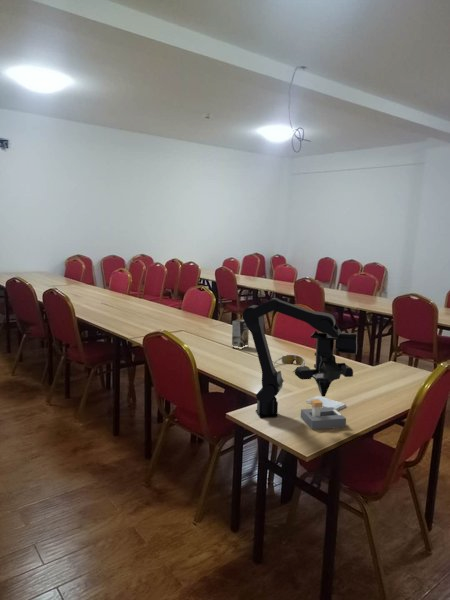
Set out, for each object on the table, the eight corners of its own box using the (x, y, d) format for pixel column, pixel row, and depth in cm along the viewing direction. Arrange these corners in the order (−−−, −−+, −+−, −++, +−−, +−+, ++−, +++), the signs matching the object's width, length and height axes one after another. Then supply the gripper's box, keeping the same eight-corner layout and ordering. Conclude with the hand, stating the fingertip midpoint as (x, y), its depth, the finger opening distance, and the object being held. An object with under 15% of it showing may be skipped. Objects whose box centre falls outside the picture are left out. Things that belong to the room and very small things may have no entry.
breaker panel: (311, 429, 143) (312, 420, 142) (300, 417, 152) (301, 408, 152) (345, 427, 145) (346, 417, 145) (332, 415, 155) (332, 406, 154)
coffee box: (241, 349, 247) (241, 322, 245) (231, 348, 251) (231, 320, 249) (248, 346, 255) (249, 319, 253) (239, 345, 258) (239, 318, 256)
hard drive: (306, 400, 167) (334, 409, 158) (318, 395, 172) (346, 403, 163) (306, 404, 167) (334, 413, 158) (318, 399, 172) (346, 407, 164)
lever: (313, 421, 146) (314, 403, 145) (310, 417, 149) (310, 399, 148) (321, 420, 147) (322, 402, 146) (317, 416, 150) (318, 399, 149)
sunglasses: (308, 365, 217) (308, 356, 216) (296, 377, 205) (296, 367, 204) (283, 361, 225) (282, 352, 224) (269, 372, 213) (269, 363, 212)
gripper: (307, 359, 136) (306, 406, 138) (362, 356, 139) (360, 403, 141) (295, 350, 146) (293, 394, 148) (346, 348, 150) (344, 391, 152)
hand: (323, 396), depth 147 cm, fingers closed
